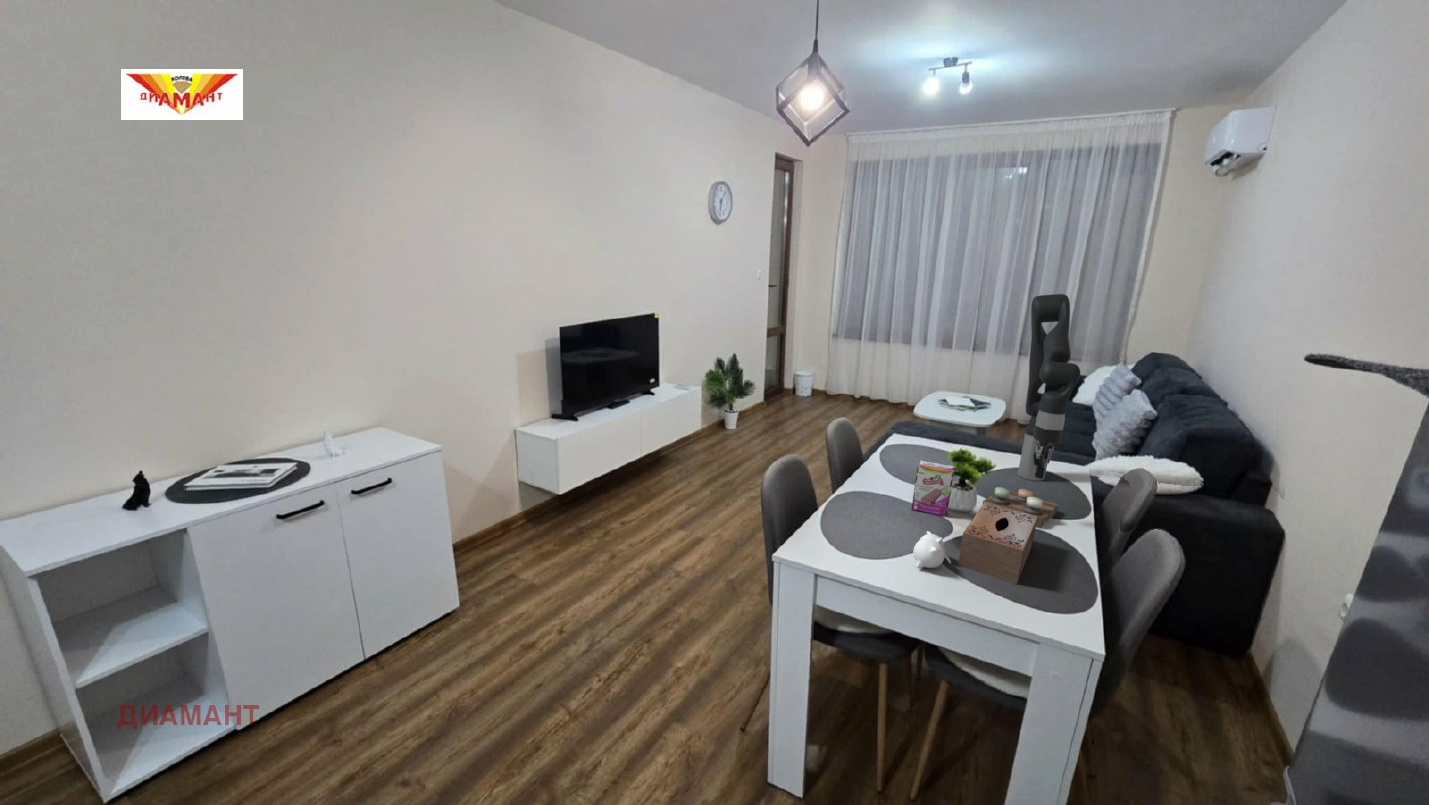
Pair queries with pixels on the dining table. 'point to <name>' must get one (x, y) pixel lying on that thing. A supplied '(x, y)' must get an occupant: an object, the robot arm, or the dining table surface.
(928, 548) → the cat figurine
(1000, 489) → the sage-green button
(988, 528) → the tissue box cover
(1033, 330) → the robot arm
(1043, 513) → the walnut button panel
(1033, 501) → the cream button
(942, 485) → the candy bar box
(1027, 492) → the terracotta button
